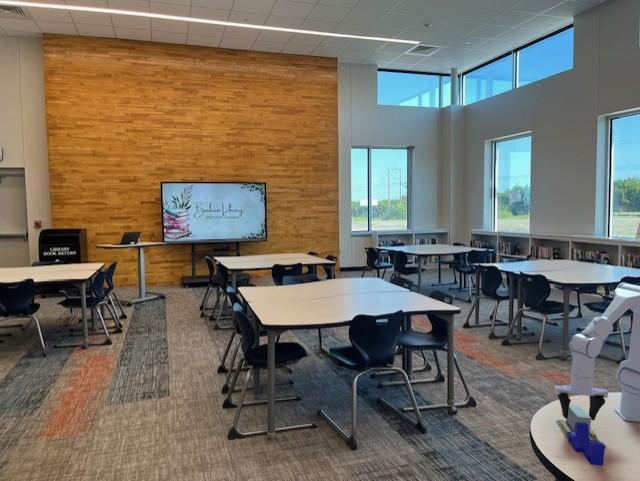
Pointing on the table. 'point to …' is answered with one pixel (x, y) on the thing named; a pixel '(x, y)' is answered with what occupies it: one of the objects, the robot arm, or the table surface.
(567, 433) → the guide rails
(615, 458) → the table surface
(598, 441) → the guide mat
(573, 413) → the bar
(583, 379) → the robot arm
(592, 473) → the table surface
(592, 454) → the cable clip
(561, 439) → the table surface
